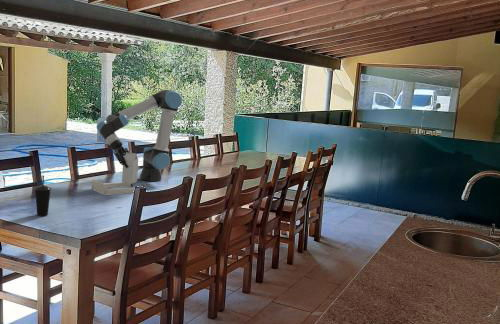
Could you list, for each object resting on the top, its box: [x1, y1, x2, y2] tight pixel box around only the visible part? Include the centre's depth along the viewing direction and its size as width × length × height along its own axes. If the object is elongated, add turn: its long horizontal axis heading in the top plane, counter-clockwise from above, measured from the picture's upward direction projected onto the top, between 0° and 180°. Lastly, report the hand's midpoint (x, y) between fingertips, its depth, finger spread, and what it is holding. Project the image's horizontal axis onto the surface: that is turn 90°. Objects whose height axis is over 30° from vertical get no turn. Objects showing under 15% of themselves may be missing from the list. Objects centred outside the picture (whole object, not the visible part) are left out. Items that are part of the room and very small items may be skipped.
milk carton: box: [121, 152, 139, 184], centre depth 317 cm, size 7×7×19 cm
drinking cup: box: [34, 175, 52, 217], centre depth 246 cm, size 8×8×20 cm
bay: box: [91, 179, 146, 196], centre depth 314 cm, size 28×18×6 cm
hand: (134, 170), depth 316 cm, fingers closed on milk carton, 8 cm apart
